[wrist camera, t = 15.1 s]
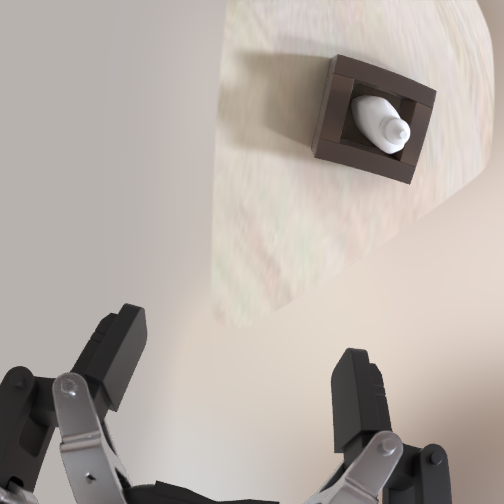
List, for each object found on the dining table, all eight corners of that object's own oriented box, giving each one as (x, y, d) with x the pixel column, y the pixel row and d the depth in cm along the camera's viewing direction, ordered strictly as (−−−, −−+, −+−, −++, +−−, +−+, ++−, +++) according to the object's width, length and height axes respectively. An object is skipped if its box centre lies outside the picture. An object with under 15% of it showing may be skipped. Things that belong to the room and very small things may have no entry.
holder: (331, 57, 27) (337, 54, 24) (420, 89, 27) (437, 91, 24) (311, 148, 34) (314, 157, 30) (397, 173, 34) (410, 184, 30)
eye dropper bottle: (385, 97, 29) (429, 107, 19) (382, 142, 32) (422, 170, 22) (350, 92, 29) (381, 97, 19) (348, 138, 32) (376, 164, 22)
